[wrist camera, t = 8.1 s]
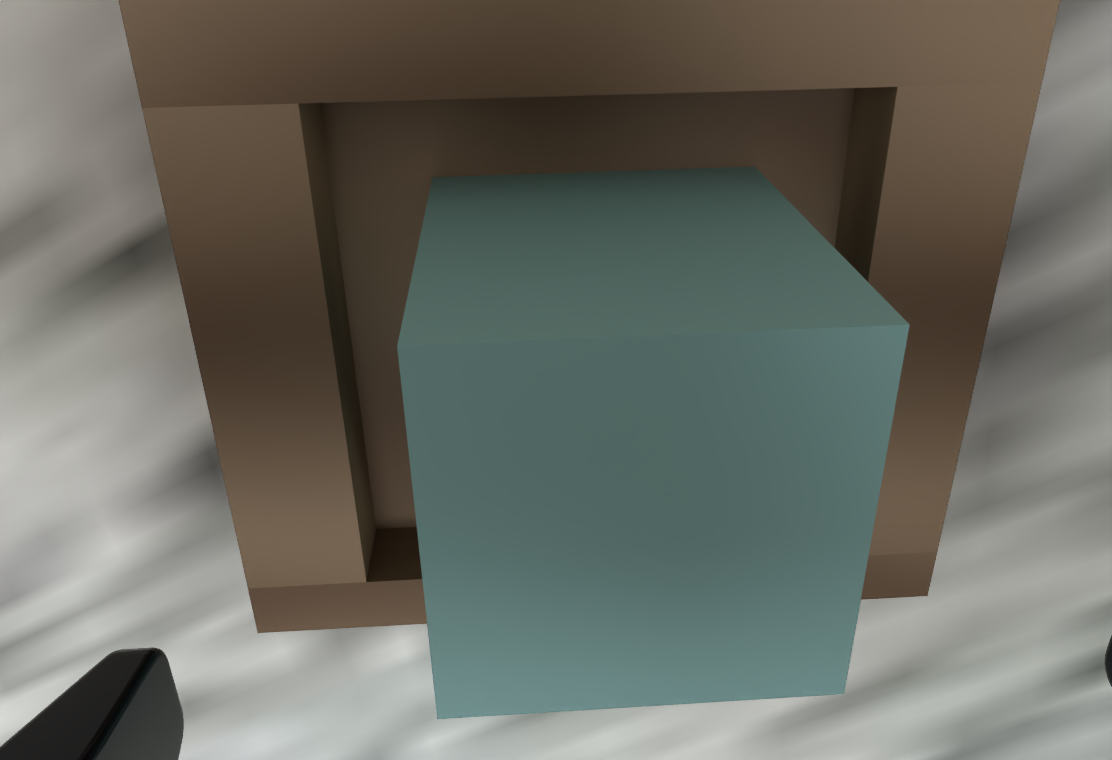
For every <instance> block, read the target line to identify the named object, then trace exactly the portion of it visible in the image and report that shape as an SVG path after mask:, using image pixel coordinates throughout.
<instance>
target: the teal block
mask: <svg viewBox="0 0 1112 760" xmlns="http://www.w3.org/2000/svg"><path fill="white" fill-rule="evenodd" d="M909 325H910V324H909V323H908V322H907V321H906V320H905V319H904V318H903V317H902V316H901V315H900V314H899V313H898V312H897V311H896V310H895V309H894V308H893V307H892V306H891V305H890V304H889V303H888V302H887V301H886V300H885V299H884V298H883V297H882V296H881V295H880V294H879V293H878V292H877V291H876V290H875V289H874V288H873V287H872V286H871V285H870V284H869V283H868V282H867V281H866V280H865V279H864V278H863V277H862V275H861V274H860V273H859V272H858V271H857V270H856V269H855V268H854V267H853V266H852V265H851V264H850V263H849V262H848V261H847V260H846V259H845V258H844V257H843V256H842V255H841V254H840V253H839V252H838V251H837V250H836V249H835V248H834V247H833V246H832V245H831V244H830V243H829V242H828V241H827V240H826V239H825V238H824V237H823V236H822V235H821V234H820V233H819V232H818V231H817V230H816V229H815V228H814V227H813V226H812V224H811V223H810V222H809V221H808V220H807V219H806V218H805V217H804V216H803V215H802V214H801V213H800V212H799V211H798V210H797V209H796V208H795V207H794V206H793V205H792V204H791V203H790V202H789V201H788V200H787V199H786V198H785V197H784V196H783V195H782V194H781V193H780V192H779V191H778V190H777V189H776V188H775V187H774V186H773V185H772V184H771V183H770V182H769V181H768V180H767V179H766V178H765V177H764V176H763V174H762V173H761V172H760V171H759V170H758V169H757V168H756V167H755V166H752V167H722V168H693V169H663V170H633V171H603V172H574V173H544V174H514V175H484V176H455V177H432V182H431V186H430V191H429V196H428V201H427V206H426V210H425V215H424V220H423V225H422V230H421V234H420V239H419V244H418V249H417V254H416V258H415V263H414V268H413V273H412V278H411V282H410V287H409V292H408V297H407V302H406V306H405V311H404V316H403V321H402V325H401V330H400V335H399V340H398V345H397V349H398V358H399V368H400V377H401V386H402V395H403V405H404V414H405V423H406V432H407V442H408V451H409V460H410V469H411V479H412V488H413V497H414V506H415V516H416V525H417V534H418V543H419V553H420V562H421V571H422V580H423V590H424V599H425V608H426V617H427V626H428V636H429V645H430V654H431V663H432V673H433V682H434V691H435V700H436V710H437V719H447V718H463V717H479V716H495V715H512V714H528V713H544V712H560V711H577V710H593V709H609V708H625V707H641V706H658V705H674V704H690V703H706V702H723V701H739V700H755V699H771V698H788V697H804V696H820V695H836V694H844V691H845V685H846V680H847V674H848V668H849V663H850V657H851V651H852V646H853V640H854V635H855V629H856V623H857V618H858V612H859V606H860V601H861V595H862V590H863V584H864V578H865V573H866V567H867V561H868V556H869V550H870V545H871V539H872V533H873V528H874V522H875V516H876V511H877V505H878V500H879V494H880V488H881V483H882V477H883V471H884V466H885V460H886V455H887V449H888V443H889V438H890V432H891V426H892V421H893V415H894V410H895V404H896V398H897V393H898V387H899V381H900V376H901V370H902V365H903V359H904V353H905V348H906V342H907V336H908V331H909Z"/></svg>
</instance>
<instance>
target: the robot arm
mask: <svg viewBox="0 0 1112 760" xmlns="http://www.w3.org/2000/svg"><path fill="white" fill-rule="evenodd" d="M1105 669H1106V673H1107V677H1108V680H1109V682H1110V685H1111V687H1112V636H1111V639H1110V642H1109V644H1108V647H1107V650H1106V654H1105ZM183 729H184V719H183V712H182V707H181V704H180V700H179V697H178V694H177V690H176V687H175V683H174V680H173V676H172V673H171V669H170V666H169V662H168V659H167V657H166V655H165V654H164V652H163V651H162V650H160V649H157V648H138V649H121V650H117V651H114V652H112V653H110V654H109V655H108V656H106V657H105V658H104V659H102V660H101V661H100V662H99V663H98V664H97V665H95V666H94V667H93V668H92V669H91V670H90V671H88V672H87V673H86V674H85V675H84V676H83V677H81V678H80V679H79V680H78V681H77V682H76V683H74V684H73V685H72V686H71V687H70V688H69V689H67V690H66V691H65V692H64V693H63V694H61V695H60V696H59V697H58V698H57V699H56V700H54V701H53V702H52V703H51V704H50V705H49V706H47V707H46V708H45V709H44V710H43V711H42V712H40V713H39V714H38V715H37V716H36V717H35V718H33V719H32V720H31V721H30V722H29V723H27V724H26V725H25V726H24V727H23V728H22V729H20V730H19V731H18V732H17V733H16V734H15V735H13V736H12V737H11V738H10V739H9V740H8V741H6V742H5V743H4V744H3V745H2V746H1V747H0V760H178V758H179V753H180V749H181V744H182V738H183Z"/></svg>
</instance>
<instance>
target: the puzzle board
mask: <svg viewBox="0 0 1112 760" xmlns="http://www.w3.org/2000/svg"><path fill="white" fill-rule="evenodd" d="M1059 4H1060V0H119V5H120V9H121V14H122V18H123V23H124V27H125V32H126V36H127V41H128V46H129V50H130V55H131V59H132V64H133V68H134V73H135V77H136V82H137V86H138V91H139V96H140V100H141V105H142V109H143V114H144V118H145V123H146V127H147V132H148V136H149V141H150V145H151V150H152V155H153V159H154V164H155V168H156V173H157V177H158V182H159V186H160V191H161V195H162V200H163V205H164V209H165V214H166V218H167V223H168V227H169V232H170V236H171V241H172V245H173V250H174V254H175V259H176V264H177V268H178V273H179V277H180V282H181V286H182V291H183V295H184V300H185V304H186V309H187V313H188V318H189V323H190V327H191V332H192V336H193V341H194V345H195V350H196V354H197V359H198V363H199V368H200V373H201V377H202V382H203V386H204V391H205V395H206V400H207V404H208V409H209V413H210V418H211V422H212V427H213V432H214V436H215V441H216V445H217V450H218V454H219V459H220V463H221V468H222V472H223V477H224V482H225V486H226V491H227V495H228V500H229V504H230V509H231V513H232V518H233V522H234V527H235V531H236V536H237V541H238V545H239V550H240V554H241V559H242V563H243V568H244V572H245V577H246V581H247V586H248V590H249V595H250V600H251V604H252V609H253V613H254V618H255V622H256V627H257V631H258V633H264V632H282V631H301V630H319V629H337V628H355V627H373V626H391V625H409V624H427V617H426V608H425V599H424V590H423V580H422V571H421V562H420V553H419V543H418V534H417V525H416V516H415V506H414V497H413V488H412V479H411V469H410V460H409V451H408V442H407V432H406V423H405V414H404V405H403V395H402V386H401V377H400V368H399V358H398V349H397V345H398V340H399V335H400V330H401V325H402V321H403V316H404V311H405V306H406V302H407V297H408V292H409V287H410V282H411V278H412V273H413V268H414V263H415V258H416V254H417V249H418V244H419V239H420V234H421V230H422V225H423V220H424V215H425V210H426V206H427V201H428V196H429V191H430V186H431V182H432V177H455V176H484V175H514V174H544V173H574V172H603V171H633V170H663V169H693V168H722V167H752V166H755V167H756V168H757V169H758V170H759V171H760V172H761V173H762V174H763V176H764V177H765V178H766V179H767V180H768V181H769V182H770V183H771V184H772V185H773V186H774V187H775V188H776V189H777V190H778V191H779V192H780V193H781V194H782V195H783V196H784V197H785V198H786V199H787V200H788V201H789V202H790V203H791V204H792V205H793V206H794V207H795V208H796V209H797V210H798V211H799V212H800V213H801V214H802V215H803V216H804V217H805V218H806V219H807V220H808V221H809V222H810V223H811V224H812V226H813V227H814V228H815V229H816V230H817V231H818V232H819V233H820V234H821V235H822V236H823V237H824V238H825V239H826V240H827V241H828V242H829V243H830V244H831V245H832V246H833V247H834V248H835V249H836V250H837V251H838V252H839V253H840V254H841V255H842V256H843V257H844V258H845V259H846V260H847V261H848V262H849V263H850V264H851V265H852V266H853V267H854V268H855V269H856V270H857V271H858V272H859V273H860V274H861V275H862V277H863V278H864V279H865V280H866V281H867V282H868V283H869V284H870V285H871V286H872V287H873V288H874V289H875V290H876V291H877V292H878V293H879V294H880V295H881V296H882V297H883V298H884V299H885V300H886V301H887V302H888V303H889V304H890V305H891V306H892V307H893V308H894V309H895V310H896V311H897V312H898V313H899V314H900V315H901V316H902V317H903V318H904V319H905V320H906V321H907V322H908V323H909V324H910V325H909V331H908V336H907V342H906V348H905V353H904V359H903V365H902V370H901V376H900V381H899V387H898V393H897V398H896V404H895V410H894V415H893V421H892V426H891V432H890V438H889V443H888V449H887V455H886V460H885V466H884V471H883V477H882V483H881V488H880V494H879V500H878V505H877V511H876V516H875V522H874V528H873V533H872V539H871V545H870V550H869V556H868V561H867V567H866V573H865V578H864V584H863V590H862V595H861V599H878V598H896V597H914V596H927V595H928V591H929V586H930V582H931V577H932V573H933V569H934V564H935V560H936V555H937V551H938V546H939V542H940V537H941V533H942V528H943V524H944V519H945V515H946V510H947V506H948V501H949V497H950V492H951V488H952V483H953V479H954V474H955V470H956V465H957V461H958V456H959V452H960V447H961V443H962V438H963V434H964V430H965V425H966V421H967V416H968V412H969V407H970V403H971V398H972V394H973V389H974V385H975V380H976V376H977V371H978V367H979V362H980V358H981V353H982V349H983V344H984V340H985V335H986V331H987V326H988V322H989V317H990V313H991V308H992V304H993V299H994V295H995V291H996V286H997V282H998V277H999V273H1000V268H1001V264H1002V259H1003V255H1004V250H1005V246H1006V241H1007V237H1008V232H1009V228H1010V223H1011V219H1012V214H1013V210H1014V205H1015V201H1016V196H1017V192H1018V187H1019V183H1020V178H1021V174H1022V169H1023V165H1024V160H1025V156H1026V152H1027V147H1028V143H1029V138H1030V134H1031V129H1032V125H1033V120H1034V116H1035V111H1036V107H1037V102H1038V98H1039V93H1040V89H1041V84H1042V80H1043V75H1044V71H1045V66H1046V62H1047V57H1048V53H1049V48H1050V44H1051V39H1052V35H1053V30H1054V26H1055V22H1056V17H1057V13H1058V8H1059Z"/></svg>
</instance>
